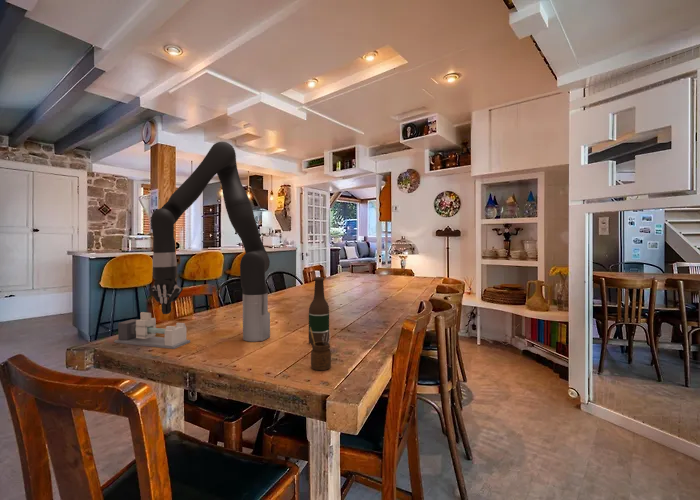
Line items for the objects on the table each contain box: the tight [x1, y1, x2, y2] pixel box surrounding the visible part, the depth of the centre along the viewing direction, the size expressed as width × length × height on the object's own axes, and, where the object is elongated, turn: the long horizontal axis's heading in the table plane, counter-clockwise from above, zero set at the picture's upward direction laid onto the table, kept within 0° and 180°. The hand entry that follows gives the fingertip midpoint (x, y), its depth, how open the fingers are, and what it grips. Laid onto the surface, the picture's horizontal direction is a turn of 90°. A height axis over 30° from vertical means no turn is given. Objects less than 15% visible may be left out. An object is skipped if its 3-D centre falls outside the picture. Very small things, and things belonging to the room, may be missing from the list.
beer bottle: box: [308, 276, 330, 345], centre depth 127 cm, size 8×8×24 cm
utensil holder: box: [310, 327, 332, 371], centre depth 102 cm, size 6×6×12 cm
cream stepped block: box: [135, 311, 157, 339], centre depth 127 cm, size 4×5×9 cm
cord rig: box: [114, 319, 191, 350], centre depth 126 cm, size 26×8×7 cm, turn 75°
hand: (166, 313), depth 124 cm, fingers closed
